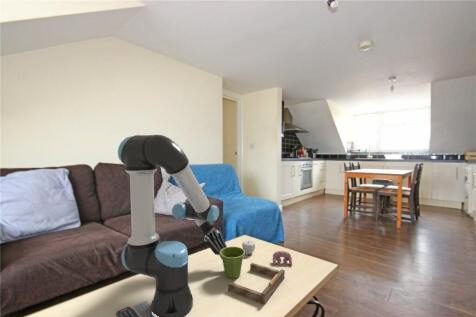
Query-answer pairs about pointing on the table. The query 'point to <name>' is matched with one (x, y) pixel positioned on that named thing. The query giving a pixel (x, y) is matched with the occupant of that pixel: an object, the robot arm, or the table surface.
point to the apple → (248, 246)
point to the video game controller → (282, 254)
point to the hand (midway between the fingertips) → (229, 264)
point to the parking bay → (267, 291)
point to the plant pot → (232, 261)
